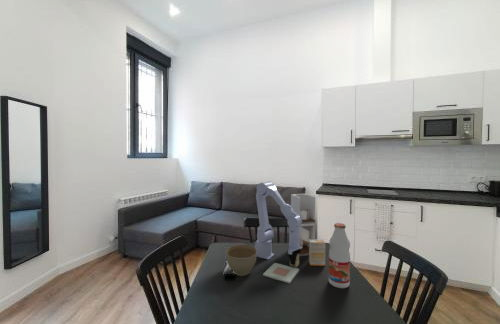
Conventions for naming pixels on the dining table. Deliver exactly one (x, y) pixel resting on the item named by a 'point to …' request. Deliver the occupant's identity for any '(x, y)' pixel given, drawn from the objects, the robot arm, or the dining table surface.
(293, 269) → the sage board
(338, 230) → the fruit juice
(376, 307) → the dining table surface
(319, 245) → the supplement box
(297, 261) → the maple block
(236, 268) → the planter bowl
